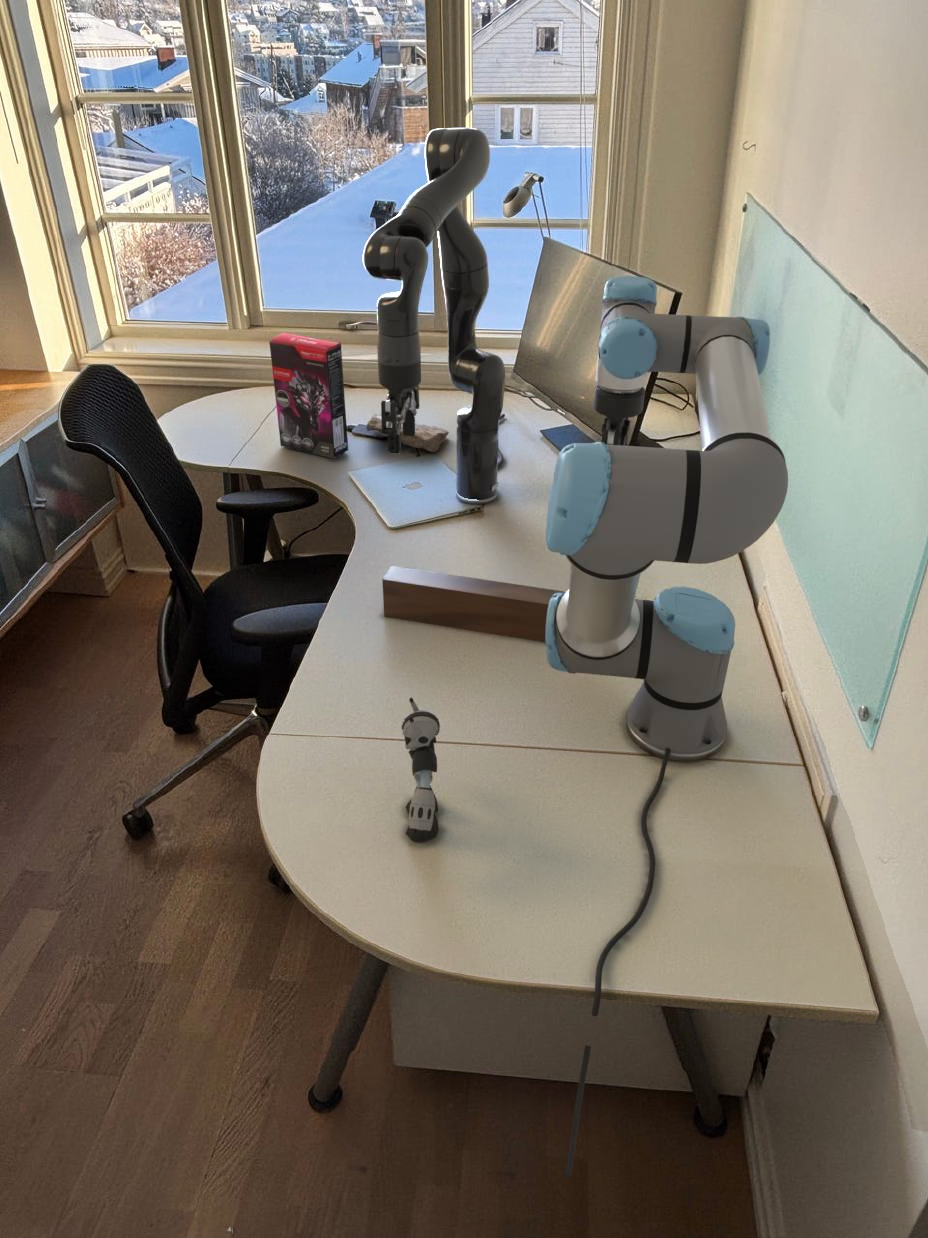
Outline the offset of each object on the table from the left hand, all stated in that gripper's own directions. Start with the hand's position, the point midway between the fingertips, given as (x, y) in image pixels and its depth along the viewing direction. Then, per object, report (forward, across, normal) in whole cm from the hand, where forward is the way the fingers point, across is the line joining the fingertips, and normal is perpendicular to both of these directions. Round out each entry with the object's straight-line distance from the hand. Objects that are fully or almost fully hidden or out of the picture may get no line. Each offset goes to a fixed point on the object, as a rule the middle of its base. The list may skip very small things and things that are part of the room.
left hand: (402, 443), depth 170 cm
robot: (+26, -65, -24) cm, 74 cm away
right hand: (+1, -14, -40) cm, 42 cm away
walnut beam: (+26, -16, -18) cm, 35 cm away
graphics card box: (+26, +48, +40) cm, 68 cm away
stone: (+26, +59, +20) cm, 68 cm away
